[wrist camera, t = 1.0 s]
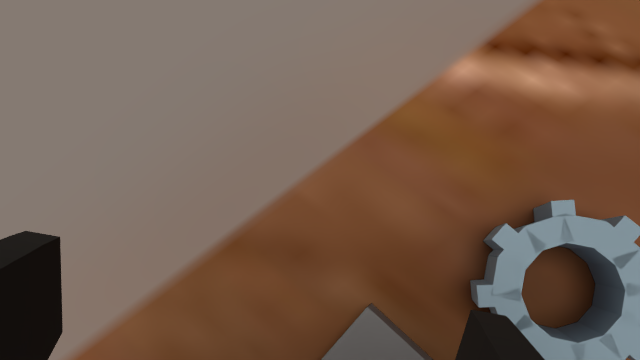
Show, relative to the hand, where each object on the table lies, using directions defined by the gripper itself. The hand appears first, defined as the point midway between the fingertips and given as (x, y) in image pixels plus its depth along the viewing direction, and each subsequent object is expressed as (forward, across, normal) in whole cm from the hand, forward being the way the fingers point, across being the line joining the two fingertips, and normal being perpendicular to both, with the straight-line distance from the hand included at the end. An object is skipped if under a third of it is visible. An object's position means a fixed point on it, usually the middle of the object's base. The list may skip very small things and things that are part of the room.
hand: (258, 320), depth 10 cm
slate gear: (+11, -10, +5) cm, 15 cm away
